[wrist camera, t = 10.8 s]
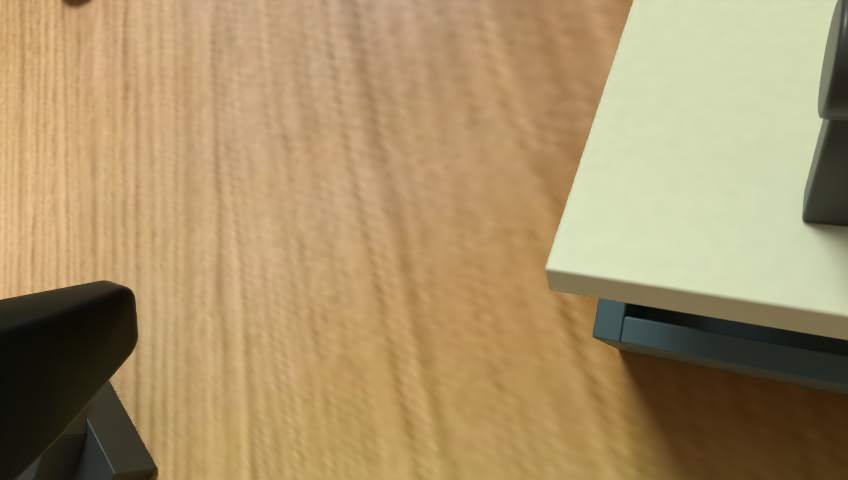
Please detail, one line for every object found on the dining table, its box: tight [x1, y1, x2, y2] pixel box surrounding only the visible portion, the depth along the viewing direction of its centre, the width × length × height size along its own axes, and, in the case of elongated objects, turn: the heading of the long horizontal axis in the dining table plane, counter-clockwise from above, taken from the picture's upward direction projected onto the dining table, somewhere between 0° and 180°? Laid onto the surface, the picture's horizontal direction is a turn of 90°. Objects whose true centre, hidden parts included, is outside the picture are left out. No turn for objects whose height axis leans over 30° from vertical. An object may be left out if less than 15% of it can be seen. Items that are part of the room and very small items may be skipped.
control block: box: [17, 380, 157, 480], centre depth 28 cm, size 9×6×4 cm, turn 43°
